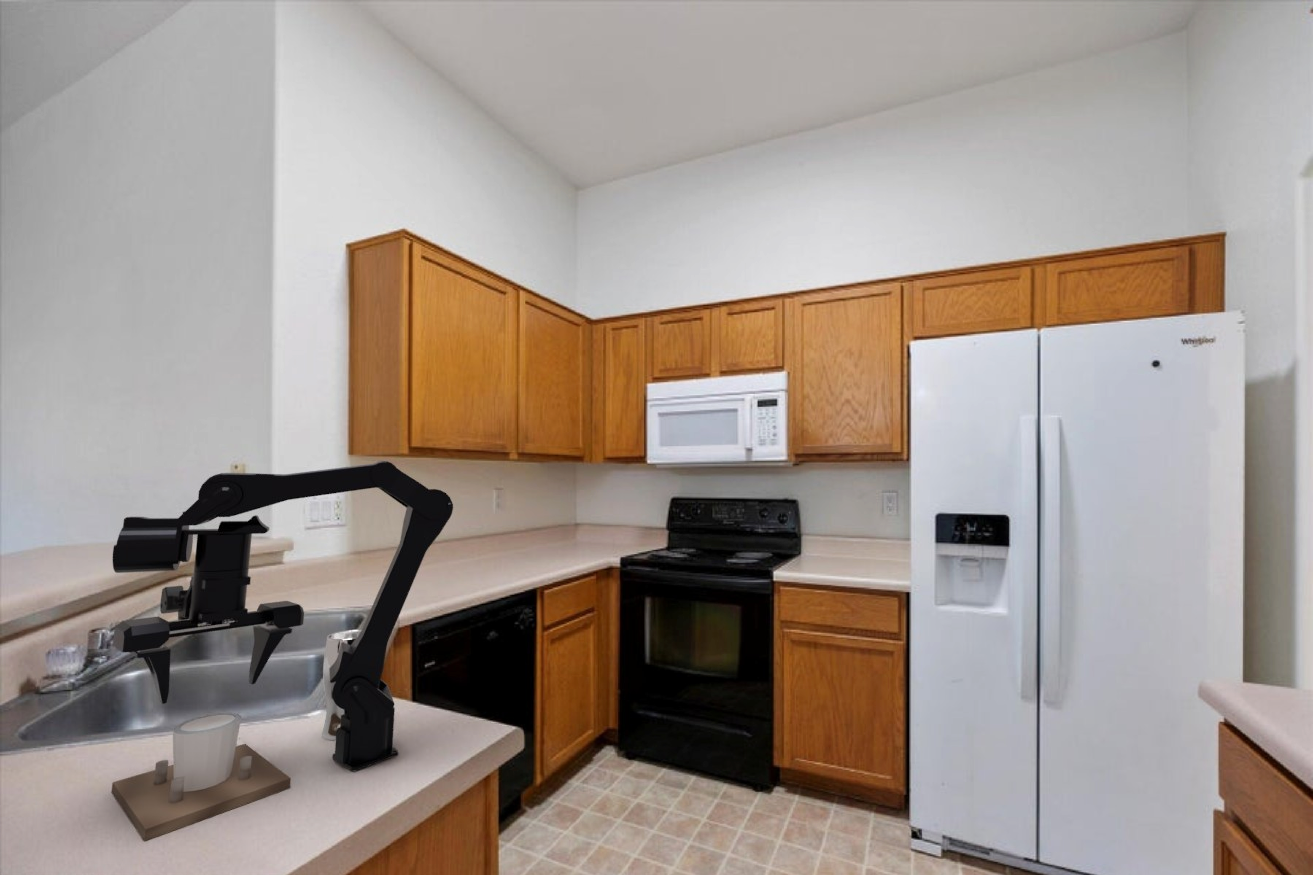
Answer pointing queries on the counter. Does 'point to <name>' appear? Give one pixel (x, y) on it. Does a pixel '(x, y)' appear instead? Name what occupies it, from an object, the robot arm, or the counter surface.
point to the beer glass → (329, 659)
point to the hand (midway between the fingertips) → (209, 692)
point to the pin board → (194, 793)
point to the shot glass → (205, 749)
